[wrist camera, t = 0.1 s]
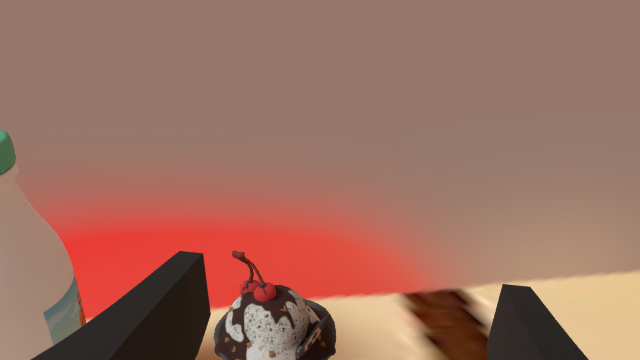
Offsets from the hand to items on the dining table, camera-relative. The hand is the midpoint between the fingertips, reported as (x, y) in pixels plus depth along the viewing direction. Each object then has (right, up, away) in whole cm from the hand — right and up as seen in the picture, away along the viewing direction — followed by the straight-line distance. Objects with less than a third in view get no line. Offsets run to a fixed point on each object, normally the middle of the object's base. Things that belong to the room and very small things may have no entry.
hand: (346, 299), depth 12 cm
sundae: (-4, -15, +20) cm, 25 cm away
